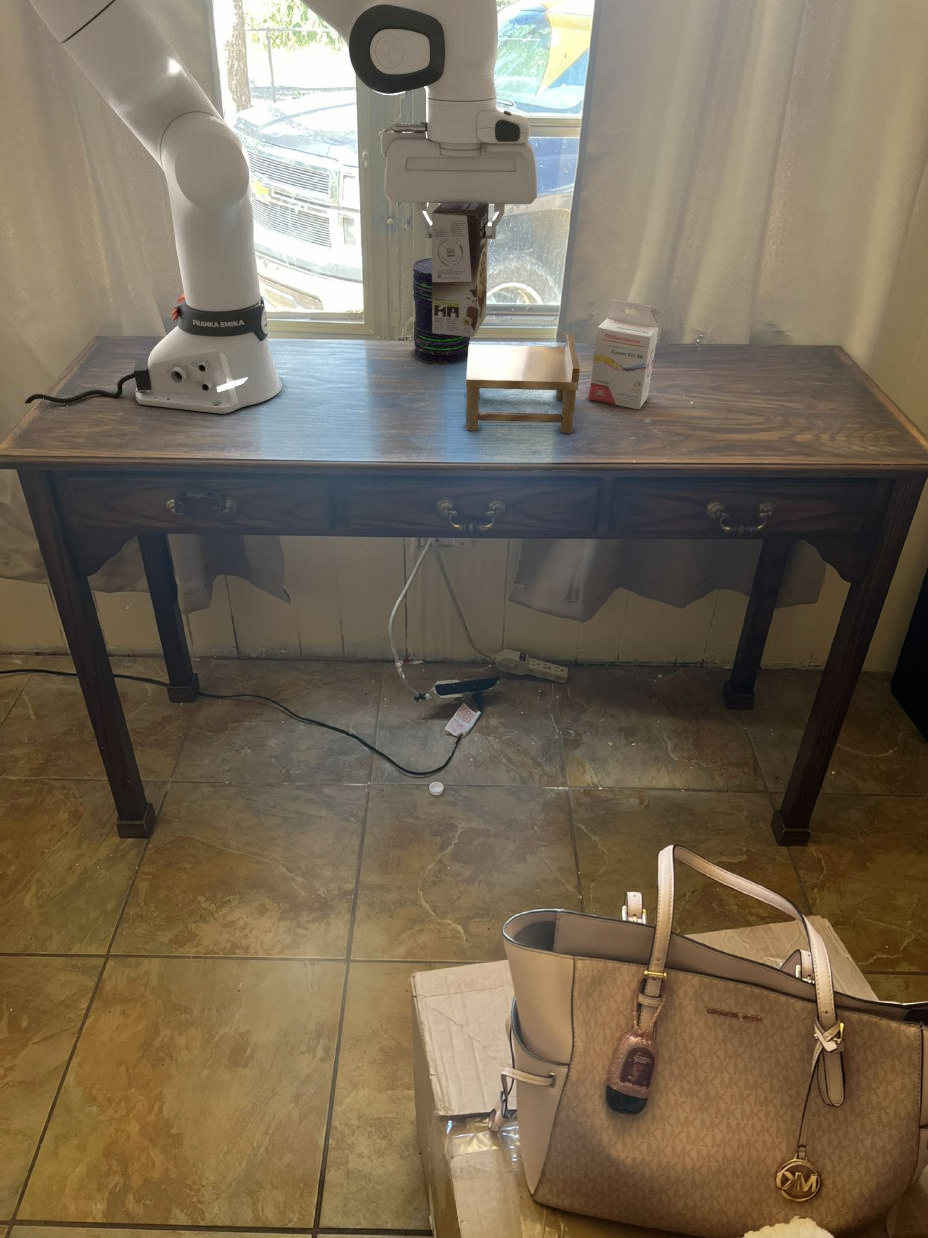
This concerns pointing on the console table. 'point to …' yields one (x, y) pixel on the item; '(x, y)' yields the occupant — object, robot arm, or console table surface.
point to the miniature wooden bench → (522, 379)
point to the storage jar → (426, 342)
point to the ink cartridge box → (624, 355)
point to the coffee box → (459, 268)
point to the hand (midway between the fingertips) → (461, 237)
